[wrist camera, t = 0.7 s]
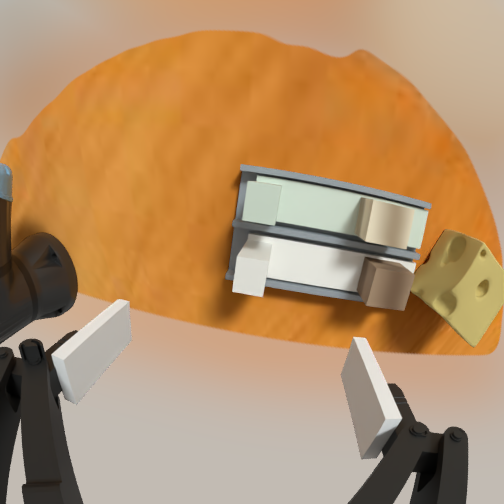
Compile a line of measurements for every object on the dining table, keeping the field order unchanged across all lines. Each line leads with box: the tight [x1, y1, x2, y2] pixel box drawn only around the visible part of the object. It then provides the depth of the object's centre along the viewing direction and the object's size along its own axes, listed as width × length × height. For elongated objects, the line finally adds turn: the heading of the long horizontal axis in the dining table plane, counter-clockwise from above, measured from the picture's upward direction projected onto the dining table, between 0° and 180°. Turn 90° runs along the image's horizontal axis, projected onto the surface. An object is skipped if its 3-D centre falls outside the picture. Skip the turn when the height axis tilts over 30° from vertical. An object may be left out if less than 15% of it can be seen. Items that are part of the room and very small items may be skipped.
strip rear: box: [232, 232, 416, 297], centre depth 31 cm, size 22×5×9 cm, turn 82°
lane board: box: [225, 164, 431, 302], centre depth 35 cm, size 24×14×3 cm, turn 82°
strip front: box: [242, 175, 428, 249], centre depth 29 cm, size 22×5×9 cm, turn 82°
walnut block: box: [356, 257, 415, 311], centre depth 32 cm, size 5×4×5 cm
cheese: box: [411, 229, 504, 347], centre depth 30 cm, size 10×11×10 cm
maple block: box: [354, 197, 415, 249], centre depth 30 cm, size 5×4×5 cm
